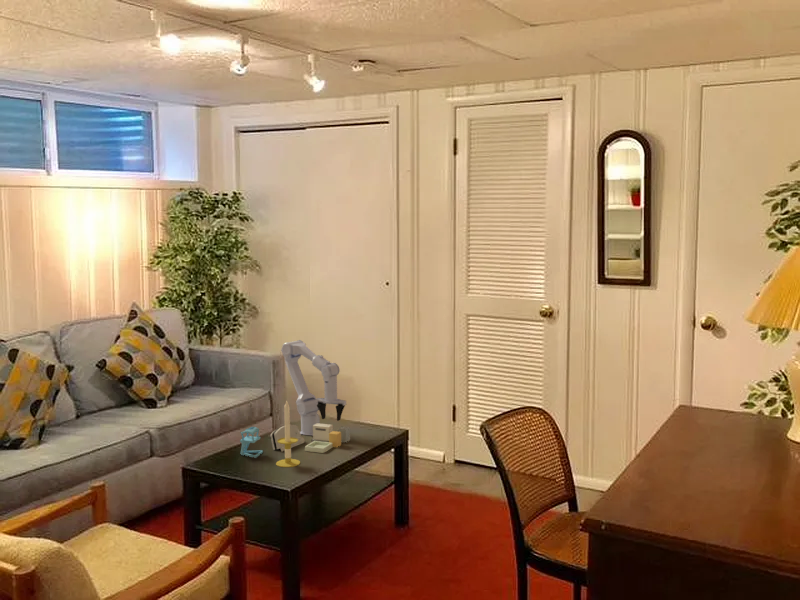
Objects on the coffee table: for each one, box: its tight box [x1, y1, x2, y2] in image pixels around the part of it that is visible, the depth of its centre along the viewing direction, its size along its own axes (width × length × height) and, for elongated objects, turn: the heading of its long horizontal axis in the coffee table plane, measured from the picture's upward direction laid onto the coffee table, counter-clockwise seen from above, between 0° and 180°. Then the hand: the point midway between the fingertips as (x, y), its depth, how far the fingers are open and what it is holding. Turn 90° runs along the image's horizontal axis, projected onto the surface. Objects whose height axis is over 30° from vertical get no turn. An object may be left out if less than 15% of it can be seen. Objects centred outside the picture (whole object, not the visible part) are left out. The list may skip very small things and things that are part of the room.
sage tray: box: [304, 441, 334, 454], centre depth 345 cm, size 9×9×2 cm
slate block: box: [337, 426, 351, 443], centre depth 357 cm, size 4×4×6 cm
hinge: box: [270, 424, 306, 452], centre depth 351 cm, size 17×5×10 cm, turn 149°
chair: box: [239, 426, 264, 459], centre depth 338 cm, size 8×8×12 cm
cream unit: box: [310, 422, 334, 443], centre depth 358 cm, size 6×9×7 cm, turn 69°
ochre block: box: [329, 430, 342, 448], centre depth 350 cm, size 4×4×6 cm
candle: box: [275, 400, 301, 468], centre depth 325 cm, size 10×10×27 cm
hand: (331, 419), depth 360 cm, fingers open, 7 cm apart
